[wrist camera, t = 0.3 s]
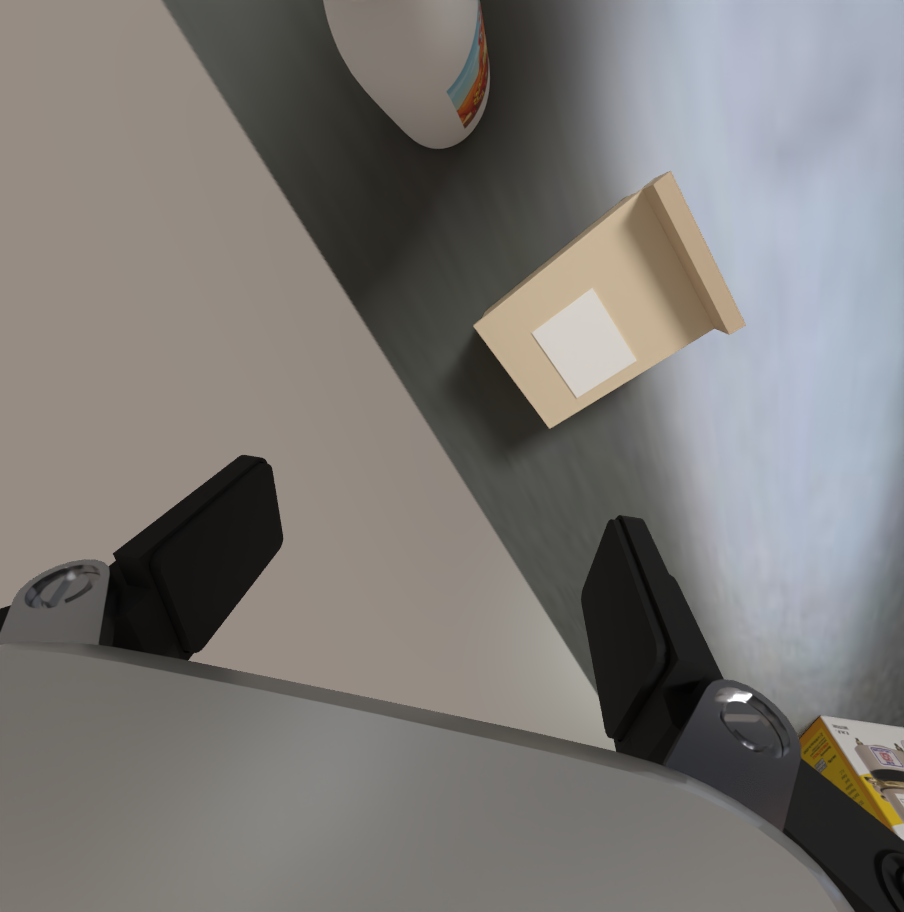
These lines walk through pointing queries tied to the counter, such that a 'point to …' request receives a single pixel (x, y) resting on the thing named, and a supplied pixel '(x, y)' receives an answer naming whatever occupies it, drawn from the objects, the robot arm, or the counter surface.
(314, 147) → the counter surface
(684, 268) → the lid
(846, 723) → the packaging box
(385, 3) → the milk bottle
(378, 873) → the robot arm
